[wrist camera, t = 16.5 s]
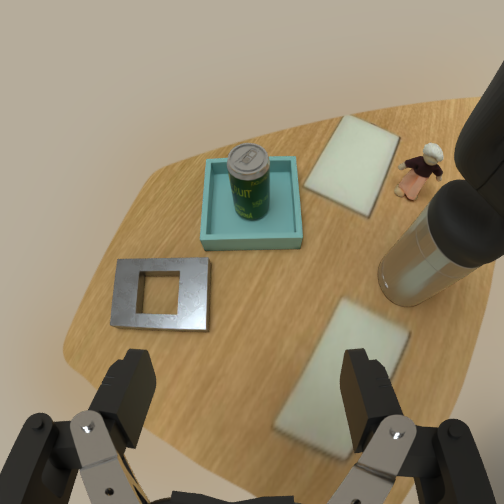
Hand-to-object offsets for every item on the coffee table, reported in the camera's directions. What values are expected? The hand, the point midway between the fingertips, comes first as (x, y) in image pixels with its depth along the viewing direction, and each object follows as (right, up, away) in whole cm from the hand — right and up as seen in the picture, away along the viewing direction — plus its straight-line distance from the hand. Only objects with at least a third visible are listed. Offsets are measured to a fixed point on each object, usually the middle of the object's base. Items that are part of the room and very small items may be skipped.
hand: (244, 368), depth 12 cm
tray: (0, +11, +38) cm, 39 cm away
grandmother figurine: (+27, +15, +38) cm, 49 cm away
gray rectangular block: (-13, -2, +33) cm, 35 cm away
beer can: (0, +12, +37) cm, 39 cm away
